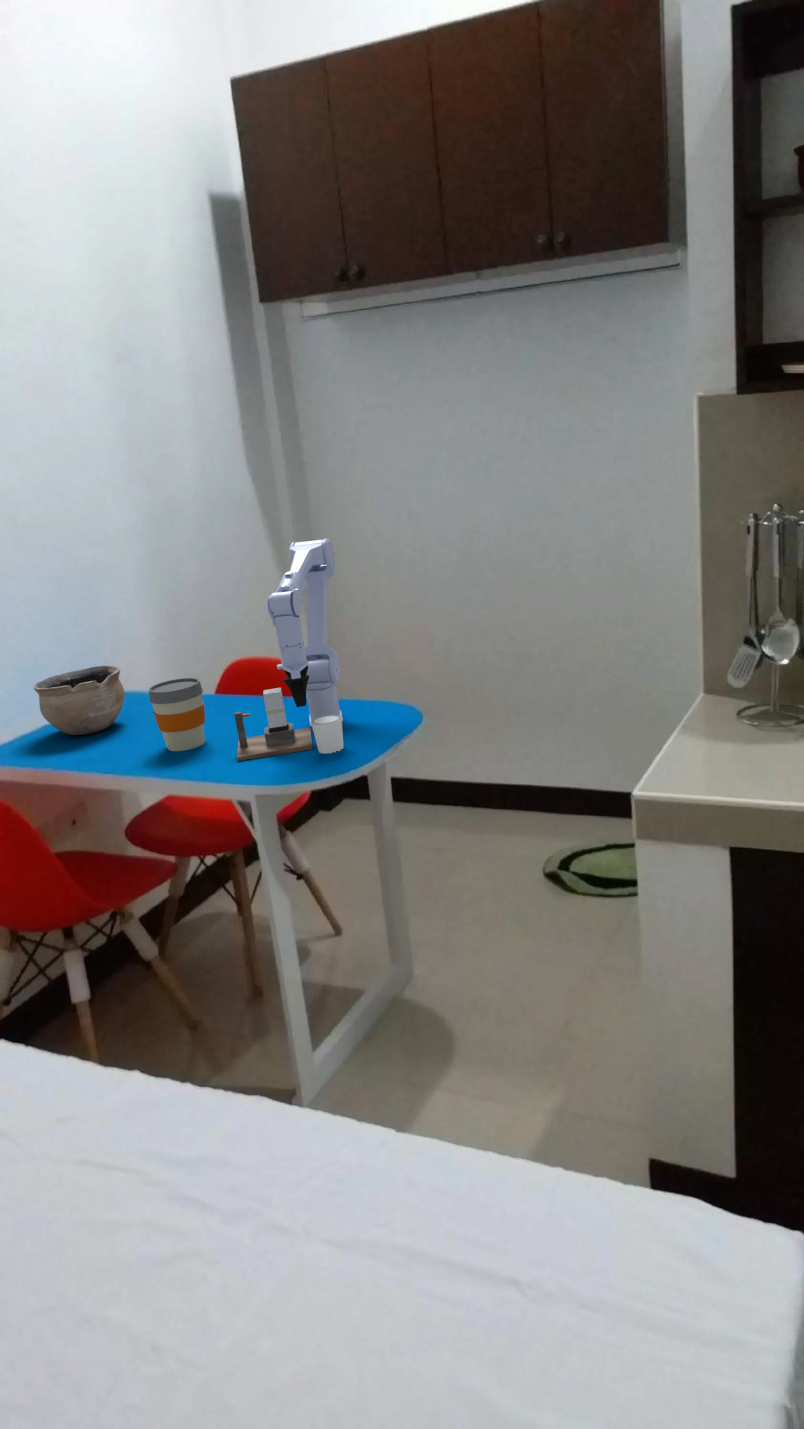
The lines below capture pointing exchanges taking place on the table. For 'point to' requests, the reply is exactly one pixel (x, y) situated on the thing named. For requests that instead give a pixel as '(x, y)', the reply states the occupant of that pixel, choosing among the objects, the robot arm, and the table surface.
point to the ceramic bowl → (82, 699)
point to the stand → (271, 740)
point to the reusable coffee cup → (179, 712)
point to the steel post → (275, 707)
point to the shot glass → (328, 733)
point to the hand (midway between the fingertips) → (301, 701)
